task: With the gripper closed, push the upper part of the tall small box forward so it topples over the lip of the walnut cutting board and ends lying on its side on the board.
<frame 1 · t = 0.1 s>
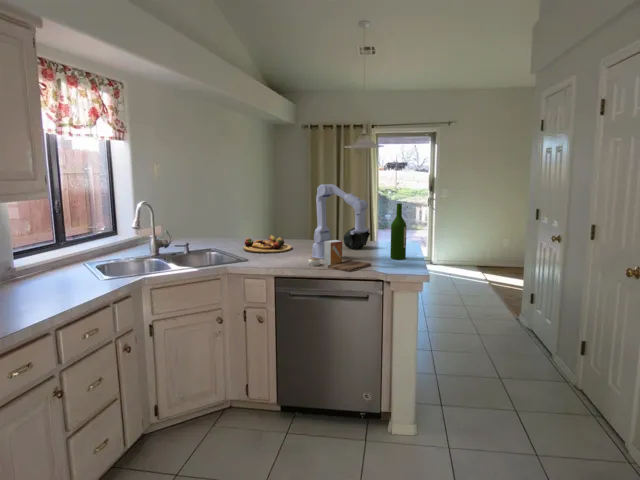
hand: (359, 246, 253), 10 cm above the counter, tool pointing down, fingers open, 7 cm apart
cutting board: (349, 266, 247), on the counter
wooden plate with food: (267, 250, 301), on the counter
squash: (354, 248, 303), on the counter
ramekin: (313, 264, 252), on the counter
small box: (333, 264, 254), on the counter
wine bottle: (397, 258, 269), on the counter
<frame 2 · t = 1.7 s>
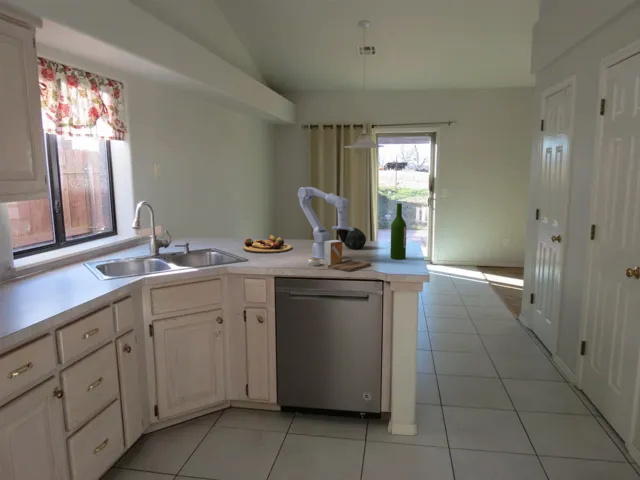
hand: (343, 242, 263), 10 cm above the counter, tool pointing down, fingers closed
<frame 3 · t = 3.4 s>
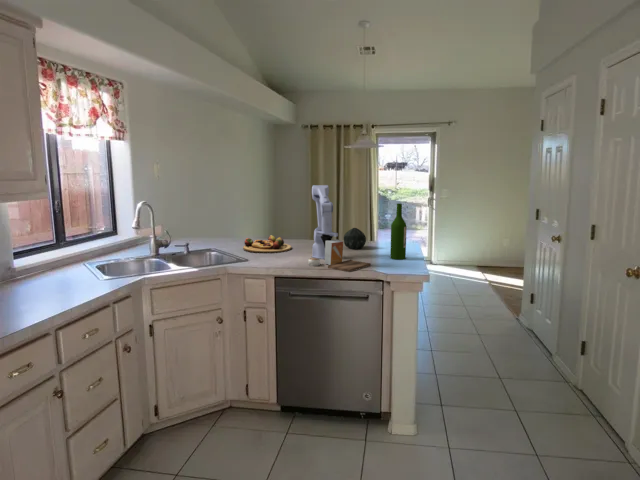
hand: (326, 248, 256), 8 cm above the counter, tool pointing down, fingers closed
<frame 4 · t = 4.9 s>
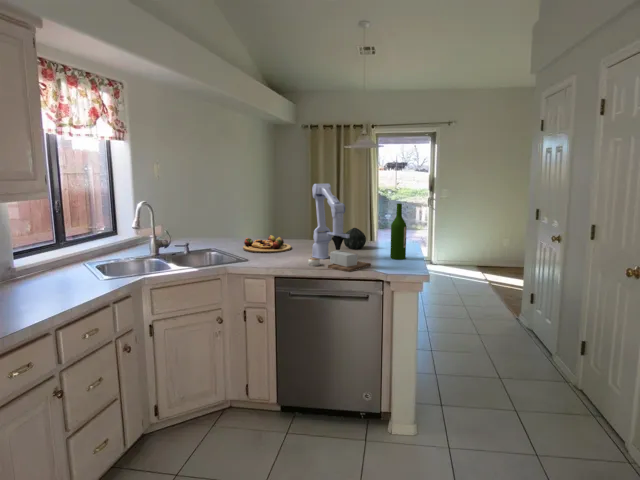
hand: (337, 249, 251), 8 cm above the counter, tool pointing down, fingers closed
small box: (335, 256, 252), point 5 cm above the counter, touching cutting board
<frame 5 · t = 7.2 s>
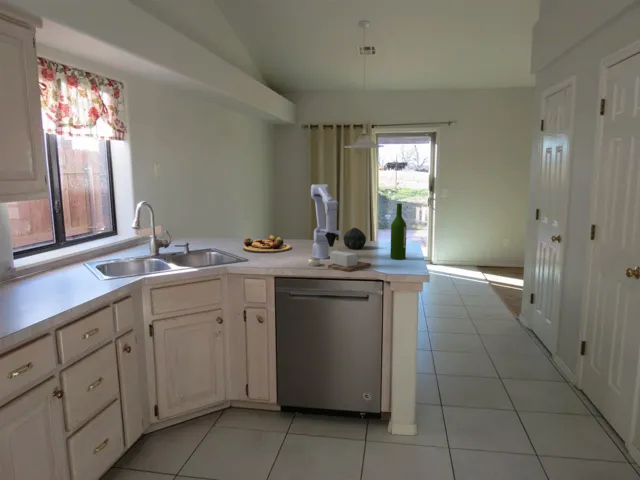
hand: (331, 246, 254), 10 cm above the counter, tool pointing down, fingers closed
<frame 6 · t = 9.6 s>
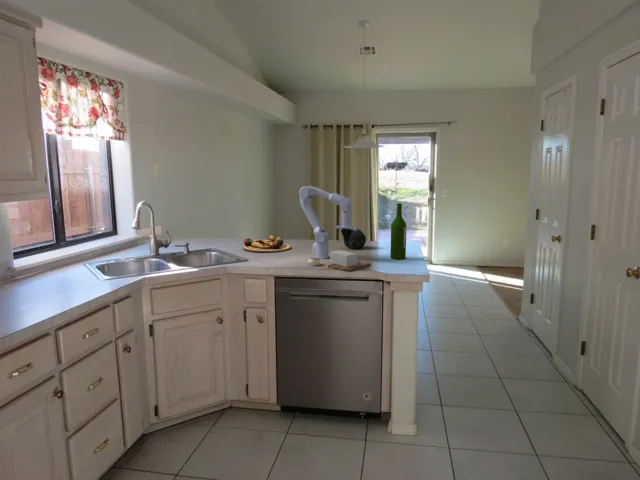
hand: (346, 241, 265), 10 cm above the counter, tool pointing down, fingers closed
at the end: small box tilted 91°; small box inside the target area (10.1 cm from its centre), point 4.7 cm above the counter; the gripper is holding nothing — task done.
